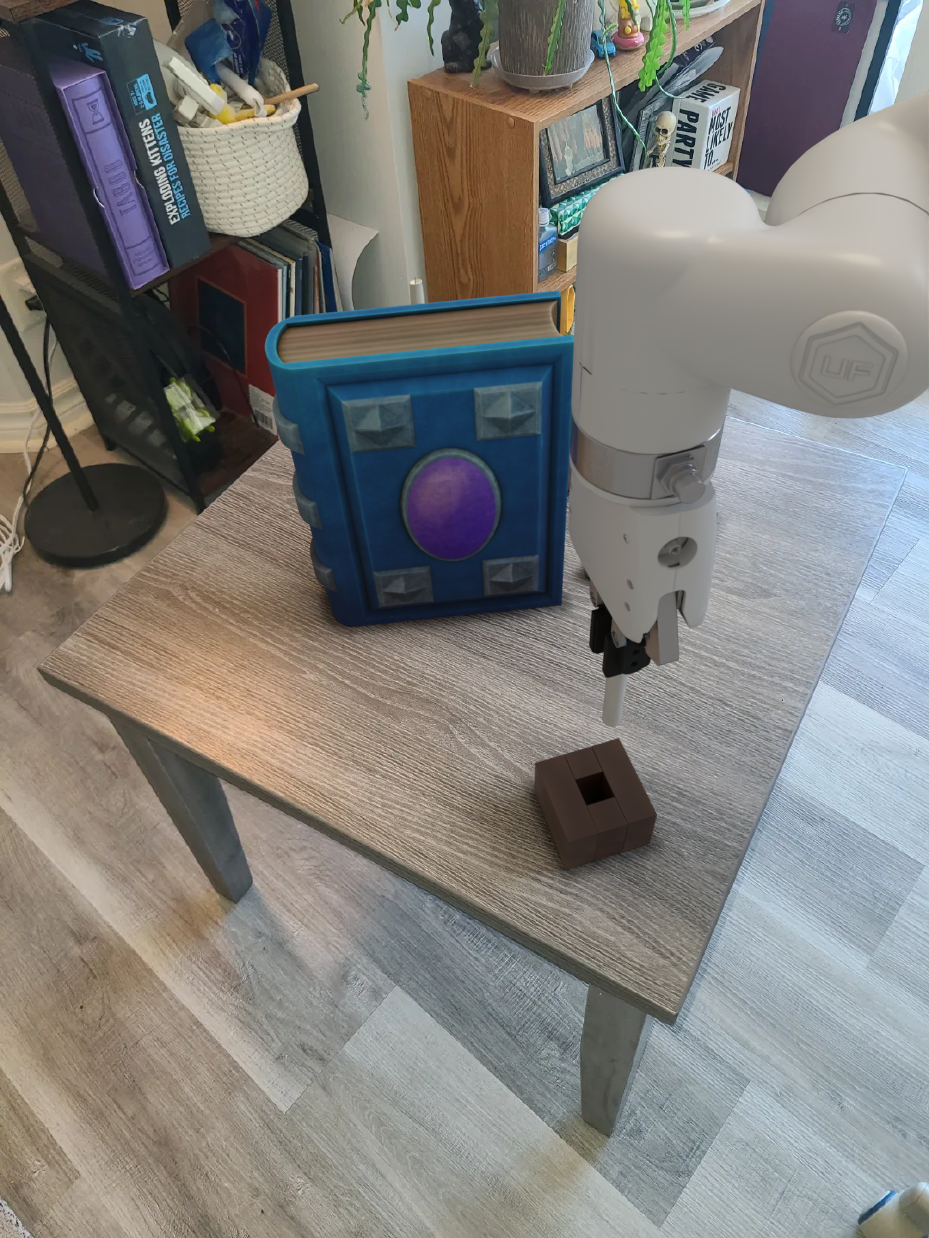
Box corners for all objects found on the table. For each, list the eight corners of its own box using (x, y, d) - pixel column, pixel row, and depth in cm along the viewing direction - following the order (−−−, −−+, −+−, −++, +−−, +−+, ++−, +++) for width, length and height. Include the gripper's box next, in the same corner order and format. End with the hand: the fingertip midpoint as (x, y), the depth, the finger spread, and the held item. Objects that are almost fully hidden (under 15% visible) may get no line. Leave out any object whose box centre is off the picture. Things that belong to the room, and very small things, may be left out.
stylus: (616, 708, 66) (631, 590, 56) (624, 724, 65) (641, 607, 55) (598, 714, 66) (610, 596, 56) (606, 729, 65) (619, 613, 55)
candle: (397, 391, 114) (383, 278, 102) (427, 373, 116) (416, 260, 104) (425, 408, 112) (413, 294, 100) (455, 390, 114) (447, 275, 102)
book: (322, 641, 89) (252, 384, 65) (322, 576, 94) (259, 318, 71) (564, 616, 89) (580, 353, 66) (550, 553, 95) (560, 290, 72)
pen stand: (614, 768, 78) (619, 737, 74) (650, 843, 73) (657, 814, 69) (534, 792, 77) (534, 762, 73) (565, 870, 72) (568, 842, 68)
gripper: (792, 517, 41) (726, 734, 55) (646, 339, 51) (622, 563, 65) (641, 559, 40) (614, 770, 54) (522, 369, 50) (525, 590, 64)
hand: (619, 656), depth 59 cm, fingers closed on stylus, 1 cm apart
